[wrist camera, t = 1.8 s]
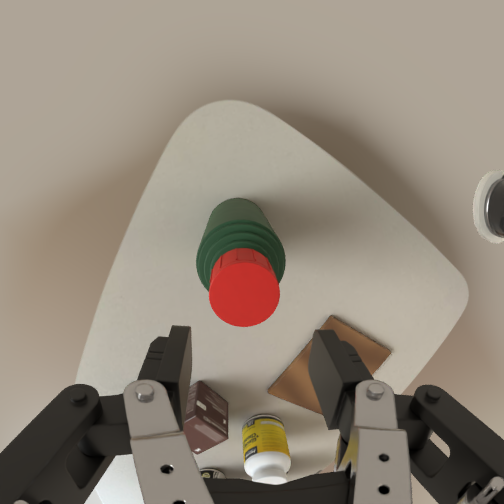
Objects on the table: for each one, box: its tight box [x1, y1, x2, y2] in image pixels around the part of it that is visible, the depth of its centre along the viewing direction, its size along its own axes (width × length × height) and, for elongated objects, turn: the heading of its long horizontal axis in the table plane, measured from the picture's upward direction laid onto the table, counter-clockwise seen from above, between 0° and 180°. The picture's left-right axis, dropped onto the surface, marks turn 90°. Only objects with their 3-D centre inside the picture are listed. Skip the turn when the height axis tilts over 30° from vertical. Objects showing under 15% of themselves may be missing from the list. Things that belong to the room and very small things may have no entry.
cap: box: [209, 248, 280, 327], centre depth 19 cm, size 4×4×3 cm
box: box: [183, 381, 228, 454], centre depth 38 cm, size 6×6×7 cm
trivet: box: [268, 316, 391, 415], centre depth 41 cm, size 14×12×1 cm
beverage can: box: [200, 469, 225, 478], centre depth 42 cm, size 6×6×12 cm
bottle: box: [196, 198, 286, 292], centre depth 26 cm, size 6×6×18 cm
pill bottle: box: [242, 415, 291, 485], centre depth 38 cm, size 6×6×12 cm
